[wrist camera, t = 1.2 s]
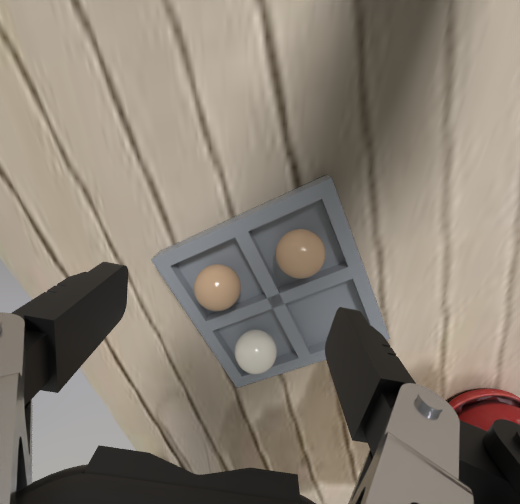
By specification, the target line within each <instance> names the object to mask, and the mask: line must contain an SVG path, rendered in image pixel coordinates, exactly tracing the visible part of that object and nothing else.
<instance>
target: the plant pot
mask: <svg viewBox="0 0 520 504" xmlns="http://www.w3.org/2000/svg"><path fill="white" fill-rule="evenodd" d="M448 403H449V404H450V405H451V407H452V408H453V409H454V410H455V412H456V414H457V415H458V418H459V420H461V421H463V422H466V423H468V424H471V425H473V426H476V427H478V428H480V429H483V430H485V431H488V430H489V428H490V427H491V425H492V424H493V423H494V421H495V420H498V419H504V420H509V421H512V422H514V423H517V424H519V425H520V398H519V397H517V396H516V395H514V394H512V393H509V392H506V391H503V390H498V389H477V390H472V391H468V392H465V393H463V394H460V395H458V396H457V397H455V398H454V399H452V400H451V401H450V402H448Z"/></svg>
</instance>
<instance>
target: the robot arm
mask: <svg viewBox="0 0 520 504" xmlns="http://www.w3.org/2000/svg"><path fill="white" fill-rule="evenodd" d="M127 285H128V268H127V267H126V266H124V265H119V264H114V263H108V262H102V263H101V264H99V265H98V266H96V267H95V268H93V269H92V270H90V271H89V272H83V273H80V274H77V275H73V276H70V277H68V278H66V279H65V280H63V281H62V282H60V283H58V284H57V286H54V287H52V288H51V289H49V290H47V292H44V293H43V294H41V295H39V296H38V297H36V298H35V299H33V300H31V301H30V302H28V303H27V304H25V305H23V306H22V307H20V308H19V309H17V310H16V311H14V312H12V313H0V504H316V503H314V502H312V501H311V500H309V499H308V498H306V497H304V496H302V495H300V492H299V484H298V475H297V474H290V473H283V472H276V471H269V470H263V469H256V468H245V469H238V470H232V471H225V472H218V473H211V474H205V475H197V474H193V473H191V472H189V471H187V470H185V469H182V468H180V467H178V466H176V465H174V464H172V463H170V462H168V461H165V460H163V459H161V458H159V457H157V456H155V455H153V454H151V453H146V452H140V451H133V450H126V449H119V448H112V447H105V446H98V448H97V449H96V451H95V453H94V455H93V457H92V458H91V460H90V462H89V464H88V465H81V466H77V467H73V468H69V469H65V470H62V471H59V472H56V473H54V474H51V475H48V476H46V477H44V478H42V479H40V480H37V481H35V482H33V483H32V398H33V397H34V396H35V395H36V394H37V393H38V392H39V391H40V390H43V391H50V392H56V393H58V392H59V391H60V390H61V389H62V387H63V386H64V385H65V384H66V383H67V382H68V380H69V379H70V378H71V377H72V376H73V374H74V373H75V372H76V371H77V370H78V369H79V368H80V367H81V365H82V364H83V363H84V362H85V361H86V360H87V358H88V357H89V356H90V355H91V354H92V353H93V351H94V350H95V349H96V348H97V347H98V346H99V344H100V343H101V342H102V341H103V340H104V339H105V337H106V336H107V335H108V334H109V333H110V332H111V330H112V329H113V328H114V327H115V326H116V325H117V323H118V322H119V321H120V320H121V318H122V317H123V314H124V312H125V309H126V304H127ZM325 357H326V360H327V363H328V366H329V369H330V372H331V376H332V379H333V382H334V385H335V388H336V391H337V394H338V397H339V401H340V404H341V407H342V410H343V413H344V416H345V419H346V422H347V425H348V429H349V432H350V435H351V438H352V440H353V441H360V442H366V443H368V445H369V447H370V451H369V453H368V455H367V457H366V459H365V462H364V464H363V467H362V469H361V472H360V475H359V477H358V480H357V482H356V485H355V488H354V490H353V493H352V495H351V498H350V501H349V503H348V504H520V425H519V424H517V423H514V422H512V421H509V420H504V419H498V420H495V421H494V423H493V424H492V425H491V427H490V428H489V430H488V431H485V430H483V429H480V428H478V427H476V426H473V425H471V424H468V423H466V422H463V421H461V420H459V418H458V415H457V414H456V412H455V410H454V409H453V408H452V407H451V405H450V404H449V403H448V402H447V401H446V400H444V399H443V398H442V397H441V396H439V395H438V394H437V393H435V392H433V391H432V390H430V389H428V388H426V387H424V386H421V385H418V384H416V383H415V382H414V380H413V379H412V377H411V376H410V374H409V373H408V371H407V370H406V368H405V367H404V365H403V364H402V363H401V361H400V360H399V358H398V357H397V356H396V354H395V352H394V351H393V349H392V348H390V345H389V343H388V342H387V340H386V339H385V338H384V336H383V335H382V334H381V333H380V332H378V331H377V330H376V329H375V328H374V327H373V326H370V325H369V323H368V322H367V320H366V319H365V317H364V316H363V314H362V313H361V311H359V310H354V309H348V308H343V307H339V308H338V310H337V311H336V314H335V317H334V319H333V322H332V325H331V328H330V331H329V334H328V337H327V339H326V343H325Z"/></svg>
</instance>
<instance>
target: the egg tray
mask: <svg viewBox="0 0 520 504" xmlns="http://www.w3.org/2000/svg"><path fill="white" fill-rule="evenodd" d="M295 229H306V230H310V231H312V232H314V233H315V234H317V235H318V236H319V237H320V239H321V240H322V241H323V243H324V246H325V250H326V257H325V262H324V264H323V266H322V268H321V269H320V270H319V271H318V272H317V273H316V274H314V275H313V276H311V277H308V278H303V279H298V278H293V277H290V276H288V275H287V274H285V273H284V272H283V271H282V270H281V269H280V267H279V266H278V264H277V261H276V256H275V252H276V246H277V244H278V242H279V240H280V239H281V237H282V236H283V235H285V234H286V233H287V232H289V231H292V230H295ZM151 260H152V262H153V263H154V265H155V266H156V268H157V269H158V271H159V272H160V274H161V275H162V277H163V278H164V280H165V281H166V283H167V284H168V286H169V287H170V289H171V290H172V292H173V293H174V295H175V296H176V298H177V299H178V301H179V302H180V304H181V305H182V307H183V308H184V310H185V311H186V313H187V314H188V316H189V317H190V319H191V320H192V322H193V323H194V325H195V326H196V328H197V329H198V331H199V332H200V334H201V335H202V337H203V338H204V340H205V341H206V343H207V344H208V346H209V347H210V349H211V350H212V352H213V353H214V355H215V356H216V358H217V359H218V361H219V362H220V364H221V365H222V367H223V368H224V370H225V371H226V373H227V374H228V376H229V377H230V379H231V380H232V382H233V383H234V385H235V386H236V388H238V387H241V386H245V385H248V384H251V383H254V382H257V381H260V380H263V379H266V378H270V377H273V376H276V375H279V374H282V373H285V372H288V371H291V370H295V369H298V368H301V367H304V366H307V365H310V364H313V363H316V362H319V361H323V360H326V357H325V343H326V339H327V337H328V334H329V331H330V328H331V325H332V322H333V319H334V317H335V314H336V311H337V310H338V308H339V307H343V308H348V309H354V310H359V311H361V313H362V314H363V316H364V317H365V319H366V320H367V322H368V323H369V325H370V326H373V327H374V328H375V329H376V330H377V331H378V332H380V333H381V334H382V335H383V336H384V338H385V339H386V340H388V339H390V337H389V334H388V332H387V329H386V326H385V323H384V321H383V318H382V315H381V312H380V310H379V307H378V304H377V301H376V298H375V296H374V293H373V290H372V287H371V285H370V282H369V279H368V276H367V274H366V271H365V268H364V265H363V263H362V260H361V257H360V254H359V252H358V249H357V246H356V243H355V241H354V238H353V235H352V232H351V229H350V227H349V224H348V221H347V218H346V216H345V213H344V210H343V207H342V205H341V202H340V199H339V196H338V194H337V191H336V188H335V185H334V183H333V180H332V177H330V176H328V175H325V176H323V177H321V178H318V179H316V180H314V181H312V182H310V183H308V184H305V185H303V186H301V187H299V188H297V189H294V190H292V191H290V192H288V193H286V194H284V195H281V196H279V197H277V198H275V199H273V200H270V201H268V202H266V203H264V204H262V205H260V206H257V207H255V208H253V209H251V210H249V211H246V212H244V213H242V214H240V215H238V216H235V217H233V218H231V219H229V220H227V221H225V222H222V223H220V224H218V225H216V226H214V227H211V228H209V229H207V230H205V231H203V232H201V233H198V234H196V235H194V236H192V237H190V238H187V239H185V240H183V241H181V242H179V243H177V244H174V245H172V246H170V247H168V248H166V249H163V250H161V251H159V252H158V253H157V254H156V255H155V256H154V257H153V258H152V259H151ZM213 264H222V265H226V266H228V267H230V268H232V269H233V270H234V271H235V272H236V273H237V275H238V277H239V279H240V282H241V292H240V295H239V298H238V299H237V301H236V302H235V303H234V304H233V305H232V306H231V307H230V308H228V309H226V310H222V311H212V310H208V309H206V308H204V307H203V306H202V305H201V304H200V303H199V302H198V301H197V299H196V297H195V294H194V282H195V279H196V277H197V275H198V274H199V273H200V271H202V270H203V269H204V268H205V267H207V266H210V265H213ZM254 329H258V330H262V331H265V332H266V333H268V334H269V335H270V336H271V337H272V338H273V340H274V342H275V344H276V348H277V356H276V360H275V362H274V364H273V365H272V367H271V368H270V369H269V370H267V371H266V372H264V373H261V374H250V373H247V372H246V371H244V370H243V369H242V368H241V367H240V366H239V365H238V363H237V361H236V358H235V346H236V343H237V341H238V339H239V338H240V336H241V335H243V334H244V333H245V332H247V331H249V330H254Z"/></svg>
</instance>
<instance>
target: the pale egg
mask: <svg viewBox="0 0 520 504" xmlns="http://www.w3.org/2000/svg"><path fill="white" fill-rule="evenodd" d="M276 356H277V348H276V344H275V342H274V340H273V338H272V337H271V336H270V335H269V334H268V333H266V332H265V331H262V330H258V329H254V330H249V331H247V332H245V333H244V334H243V335H241V336H240V338H239V339H238V341H237V343H236V346H235V358H236V361H237V363H238V365H239V366H240V367H241V368H242V369H243V370H244V371H246V372H247V373H250V374H261V373H264V372H266V371H267V370H269V369H270V368H271V367H272V365H273V364H274V362H275V360H276Z"/></svg>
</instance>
